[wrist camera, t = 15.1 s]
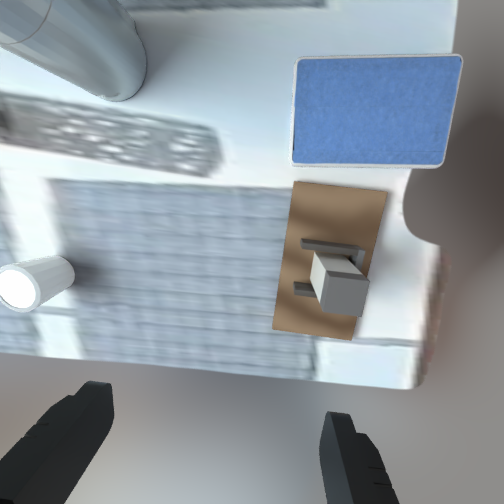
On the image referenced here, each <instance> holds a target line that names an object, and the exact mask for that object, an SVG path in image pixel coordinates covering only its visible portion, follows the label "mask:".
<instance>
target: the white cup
mask: <svg viewBox="0 0 504 504" xmlns="http://www.w3.org/2000/svg"><path fill="white" fill-rule="evenodd" d="M74 279H75V273H74V269H73V267H72V266H71V264H70V263H69V262H68V261H67V260H66V259H64V258H62V257H59V256H48V257H43V258H38V259H34V260H29V261H24V262H19V263H14V264H10V265H5V266H2V267H1V268H0V301H1V302H2V304H4V305H5V306H7V307H8V308H9V309H11V310H14V311H17V312H29V311H31V310H33V309H35V308H37V307H38V306H40V305H41V304H43V303H44V302H46V301H48V300H49V299H51V298H52V297H54V296H55V295H57V294H59V293H60V292H62V291H63V290H65V289H66V288H68V287H70V286H71V285H72V283H73V282H74Z"/></svg>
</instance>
